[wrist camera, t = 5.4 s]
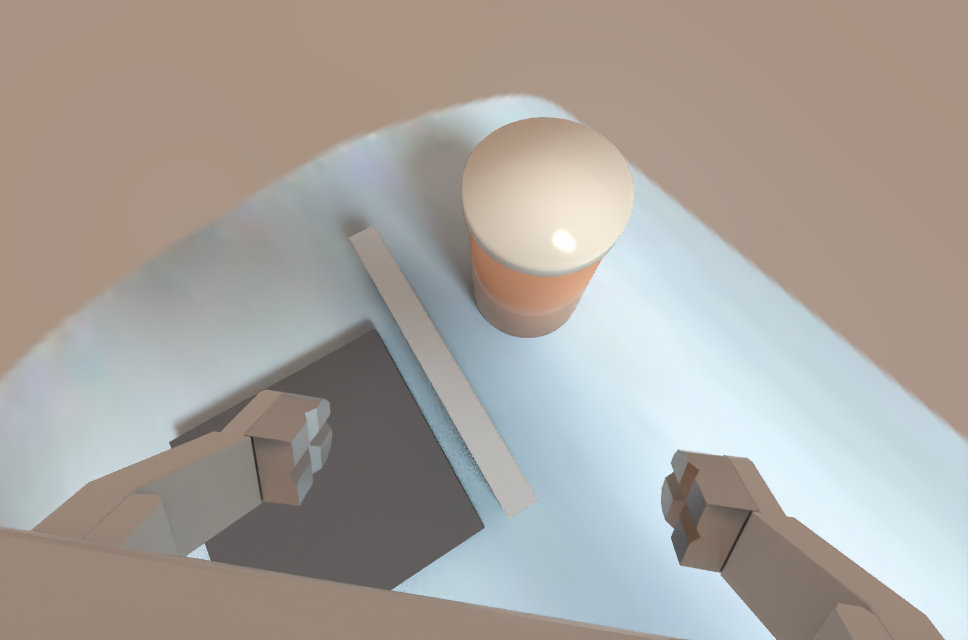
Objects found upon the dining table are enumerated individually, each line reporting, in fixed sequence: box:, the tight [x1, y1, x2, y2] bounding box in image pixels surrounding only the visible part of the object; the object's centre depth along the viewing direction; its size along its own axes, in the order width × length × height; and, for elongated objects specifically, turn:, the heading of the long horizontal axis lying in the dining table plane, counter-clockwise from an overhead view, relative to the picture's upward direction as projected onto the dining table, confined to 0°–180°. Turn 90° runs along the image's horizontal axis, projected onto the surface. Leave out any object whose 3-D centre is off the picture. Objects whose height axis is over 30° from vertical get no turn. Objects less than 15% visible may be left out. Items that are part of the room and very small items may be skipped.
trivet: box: [169, 330, 484, 590], centre depth 23 cm, size 12×12×1 cm
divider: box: [349, 225, 538, 519], centre depth 23 cm, size 2×16×4 cm, turn 31°
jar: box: [462, 117, 635, 338], centre depth 22 cm, size 7×7×10 cm
